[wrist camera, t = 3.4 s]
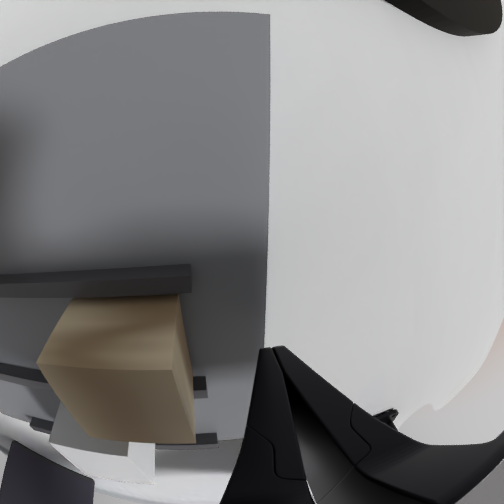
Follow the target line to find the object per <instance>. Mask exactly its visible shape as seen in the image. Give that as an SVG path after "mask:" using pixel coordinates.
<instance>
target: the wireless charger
mask: <svg viewBox="0 0 504 504" xmlns="http://www.w3.org/2000/svg"><path fill="white" fill-rule="evenodd" d="M385 1H387V2H389V3H390V4H392V5H394V6H395V7H397V8H399V9H400V10H402V11H404V12H405V13H407V14H409V15H411V16H412V17H414V18H416V19H418V20H420V21H422V22H424V23H426V24H427V25H429V26H432V27H434V28H436V29H438V30H441V31H443V32H446V33H449V34H452V35H457V36H474V35H482V34H490V33H494V32H495V31H497V30H498V28H499V27H500V25H501V22H502V5H501V0H385Z"/></svg>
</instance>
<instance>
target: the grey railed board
mask: <svg viewBox="0 0 504 504" xmlns="http://www.w3.org/2000/svg"><path fill="white" fill-rule="evenodd" d="M269 165H270V15H269V14H259V13H244V12H193V13H178V14H168V15H159V16H152V17H145V18H139V19H133V20H128V21H123V22H118V23H114V24H110V25H105V26H101V27H98V28H94V29H90V30H87V31H84V32H80V33H77V34H74V35H71V36H68V37H65V38H63V39H60V40H57V41H55V42H52V43H49V44H47V45H45V46H42V47H40V48H37V49H35V50H33V51H31V52H29V53H26V54H24V55H22V56H20V57H18V58H16V59H14V60H12V61H10V62H8V63H7V64H5V65H3V66H1V67H0V412H1V413H2V414H5V415H8V416H11V417H13V418H16V419H20V420H23V421H26V422H29V423H30V426H31V427H32V428H33V429H34V430H36V431H40V432H43V433H47V434H51V431H52V428H53V424H54V421H55V417H56V414H57V411H58V408H59V405H60V402H61V400H60V399H59V398H58V396H57V395H56V393H55V392H54V390H53V389H52V387H51V386H50V384H49V383H48V381H47V380H46V378H45V377H44V375H43V374H42V372H41V370H40V369H39V367H38V365H37V364H36V362H37V360H38V358H39V356H40V354H41V352H42V350H43V348H44V346H45V344H46V342H47V341H48V339H49V337H50V335H51V333H52V332H53V330H54V328H55V326H56V325H57V323H58V321H59V320H60V318H61V316H62V315H63V313H64V311H65V310H66V308H67V307H68V305H69V303H70V302H71V300H72V299H73V298H86V297H120V296H144V295H164V294H179V299H180V305H181V312H182V318H183V324H184V329H185V335H186V340H187V346H188V351H189V356H190V361H191V366H192V370H193V395H194V417H195V434H196V443H189V444H158V443H155V449H170V450H181V449H209V448H219V445H218V441H220V440H231V439H240V438H244V433H245V427H246V423H247V417H248V412H249V406H250V400H251V395H252V389H253V383H254V377H255V371H256V365H257V359H258V353H259V349H261V348H264V334H265V310H266V283H267V251H268V214H269Z"/></svg>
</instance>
